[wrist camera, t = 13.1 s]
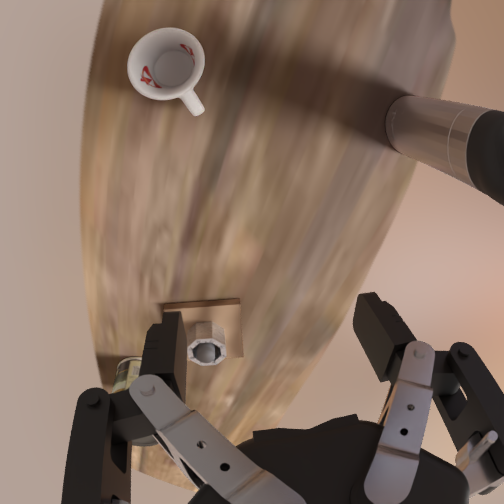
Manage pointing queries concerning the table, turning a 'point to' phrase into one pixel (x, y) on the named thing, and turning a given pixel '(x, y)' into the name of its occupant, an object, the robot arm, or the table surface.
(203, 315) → the post block
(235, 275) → the table surface
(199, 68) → the cup
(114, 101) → the table surface
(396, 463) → the robot arm
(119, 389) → the coffee can
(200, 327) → the ring
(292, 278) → the table surface
